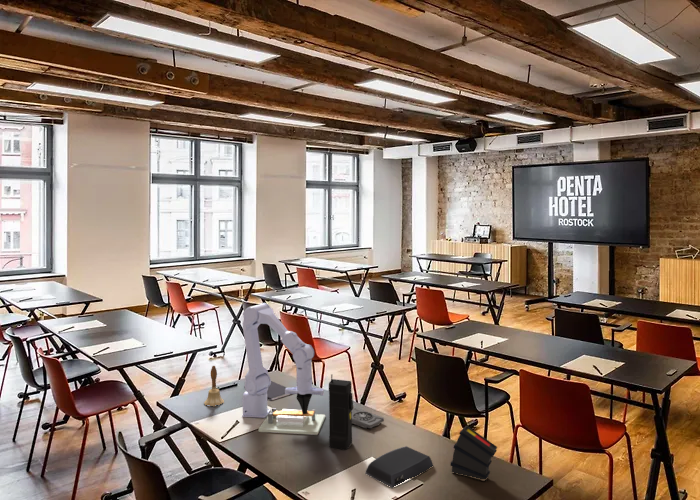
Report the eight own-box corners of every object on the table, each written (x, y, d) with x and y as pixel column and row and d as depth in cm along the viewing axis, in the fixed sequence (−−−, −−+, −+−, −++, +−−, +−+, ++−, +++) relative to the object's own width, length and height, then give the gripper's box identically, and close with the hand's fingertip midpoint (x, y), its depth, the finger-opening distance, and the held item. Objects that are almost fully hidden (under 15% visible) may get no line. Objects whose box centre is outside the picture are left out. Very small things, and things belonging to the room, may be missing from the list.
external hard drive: (363, 474, 165) (362, 461, 165) (404, 454, 178) (404, 442, 178) (393, 490, 156) (393, 477, 155) (435, 468, 168) (435, 456, 168)
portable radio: (355, 443, 185) (355, 373, 183) (349, 450, 180) (349, 378, 177) (334, 439, 188) (334, 371, 186) (328, 447, 182) (327, 376, 180)
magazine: (445, 461, 169) (465, 424, 164) (481, 488, 163) (504, 450, 159) (441, 466, 166) (461, 428, 161) (478, 494, 160) (500, 456, 156)
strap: (269, 416, 201) (269, 413, 201) (271, 413, 204) (271, 410, 204) (312, 417, 198) (312, 413, 198) (314, 413, 201) (314, 410, 201)
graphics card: (332, 413, 204) (353, 403, 212) (332, 423, 204) (353, 412, 213) (365, 426, 192) (386, 415, 201) (366, 436, 193) (386, 425, 202)
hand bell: (226, 399, 227) (225, 362, 226) (221, 406, 219) (220, 369, 217) (206, 399, 227) (205, 363, 226) (201, 406, 219) (200, 369, 217)
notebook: (244, 389, 241) (271, 401, 225) (244, 385, 241) (271, 398, 225) (267, 382, 249) (295, 394, 234) (267, 379, 249) (295, 390, 234)
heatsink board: (258, 431, 195) (258, 418, 194) (270, 414, 211) (270, 402, 210) (317, 434, 192) (317, 421, 192) (325, 417, 208) (325, 404, 207)
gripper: (282, 380, 196) (283, 416, 197) (321, 381, 194) (321, 417, 195) (287, 374, 203) (288, 408, 204) (324, 375, 201) (325, 410, 202)
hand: (304, 412), depth 200 cm, fingers closed, pressing on strap
